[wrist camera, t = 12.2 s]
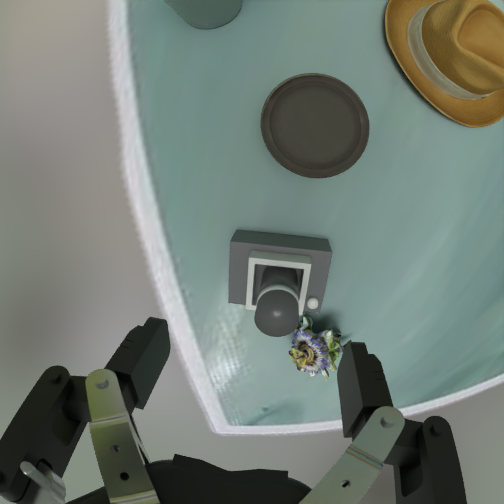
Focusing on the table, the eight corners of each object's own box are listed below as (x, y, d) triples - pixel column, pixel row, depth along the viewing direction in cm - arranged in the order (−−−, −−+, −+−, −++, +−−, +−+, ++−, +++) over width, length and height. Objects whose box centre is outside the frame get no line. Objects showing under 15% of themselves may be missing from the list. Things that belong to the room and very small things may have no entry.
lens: (254, 279, 41) (245, 321, 32) (277, 254, 39) (273, 292, 30) (282, 299, 42) (279, 343, 33) (305, 275, 40) (309, 317, 31)
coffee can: (356, 125, 35) (389, 121, 23) (312, 178, 39) (324, 200, 26) (298, 80, 34) (304, 52, 21) (254, 134, 38) (238, 133, 25)
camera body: (236, 229, 44) (226, 248, 37) (327, 239, 43) (334, 259, 36) (234, 286, 48) (225, 311, 41) (317, 295, 47) (321, 322, 40)
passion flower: (299, 313, 55) (286, 313, 44) (354, 315, 51) (356, 316, 40) (294, 368, 53) (281, 382, 41) (349, 372, 49) (349, 388, 38)
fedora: (349, -8, 27) (365, -45, 16) (471, -13, 19) (502, -31, 8) (422, 143, 35) (463, 150, 24) (527, 113, 27) (567, 117, 17)
